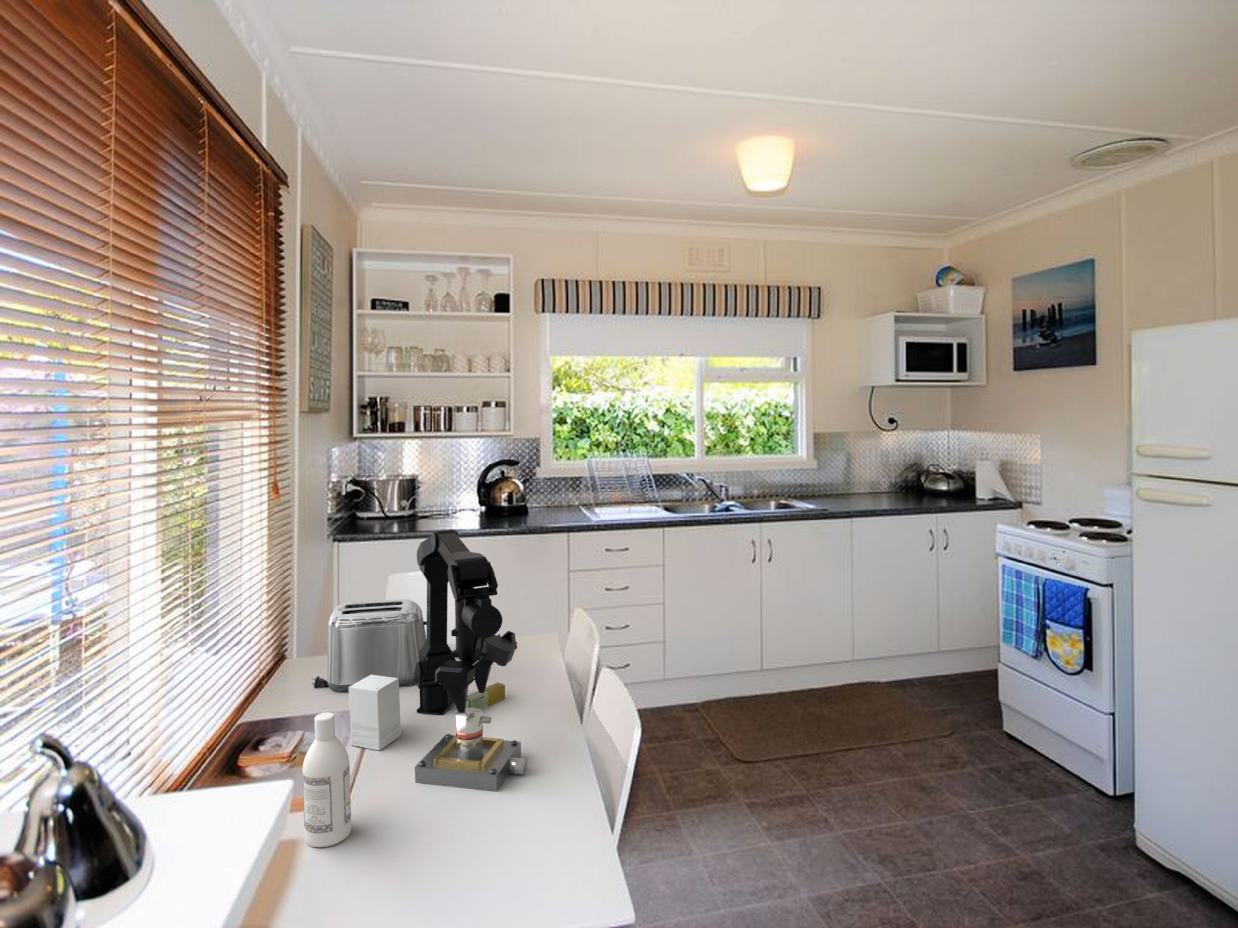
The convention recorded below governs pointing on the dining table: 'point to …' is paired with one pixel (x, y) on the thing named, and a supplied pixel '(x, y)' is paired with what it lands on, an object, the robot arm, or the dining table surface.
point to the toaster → (373, 642)
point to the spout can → (470, 733)
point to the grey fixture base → (471, 765)
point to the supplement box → (374, 712)
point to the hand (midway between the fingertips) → (472, 702)
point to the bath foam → (326, 786)
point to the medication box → (486, 696)
